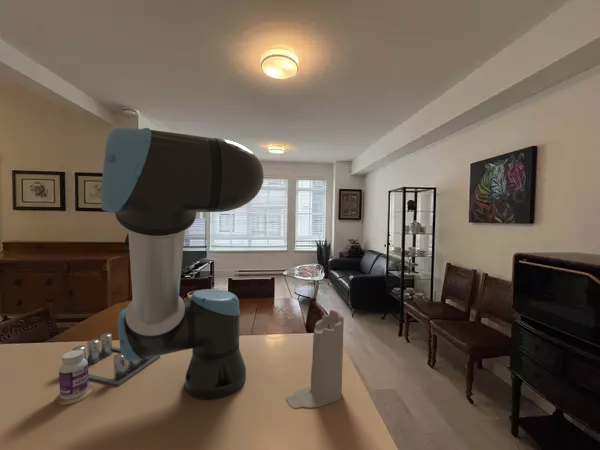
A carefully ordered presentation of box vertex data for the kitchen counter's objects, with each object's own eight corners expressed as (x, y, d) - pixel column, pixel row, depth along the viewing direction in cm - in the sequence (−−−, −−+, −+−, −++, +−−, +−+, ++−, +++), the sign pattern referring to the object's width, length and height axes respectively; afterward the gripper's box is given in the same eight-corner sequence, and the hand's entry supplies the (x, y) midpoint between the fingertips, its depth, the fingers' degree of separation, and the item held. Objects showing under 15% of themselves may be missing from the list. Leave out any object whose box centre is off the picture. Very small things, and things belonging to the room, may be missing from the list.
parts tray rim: (160, 357, 84) (160, 355, 84) (118, 386, 70) (118, 383, 70) (109, 348, 89) (109, 346, 89) (62, 373, 75) (62, 371, 75)
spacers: (152, 359, 83) (152, 340, 82) (120, 381, 72) (119, 359, 72) (107, 351, 87) (106, 332, 86) (70, 370, 76) (69, 349, 76)
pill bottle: (77, 400, 64) (75, 360, 64) (54, 400, 64) (51, 360, 64) (94, 385, 70) (92, 348, 69) (72, 385, 70) (70, 348, 69)
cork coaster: (100, 388, 69) (100, 386, 69) (70, 407, 63) (70, 406, 63) (78, 383, 71) (78, 381, 71) (47, 401, 65) (47, 400, 64)
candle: (282, 394, 68) (283, 314, 67) (332, 381, 74) (334, 306, 72) (293, 414, 62) (294, 326, 60) (347, 398, 67) (349, 317, 66)
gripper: (169, 198, 97) (170, 259, 98) (105, 195, 73) (108, 276, 74) (189, 198, 95) (190, 260, 97) (130, 195, 71) (132, 278, 72)
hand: (154, 267), depth 85 cm, fingers open, 13 cm apart
